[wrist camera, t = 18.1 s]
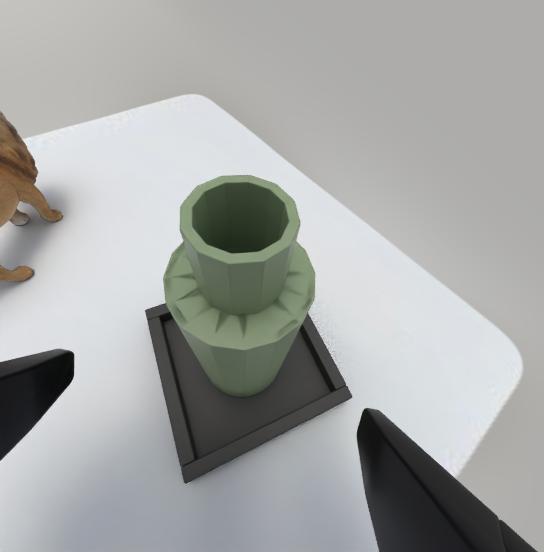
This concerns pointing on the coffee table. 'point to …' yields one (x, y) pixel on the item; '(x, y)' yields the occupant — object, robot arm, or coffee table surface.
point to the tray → (238, 410)
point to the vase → (239, 280)
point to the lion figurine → (18, 189)
